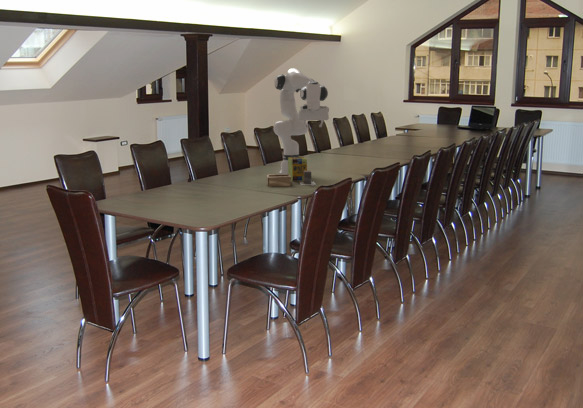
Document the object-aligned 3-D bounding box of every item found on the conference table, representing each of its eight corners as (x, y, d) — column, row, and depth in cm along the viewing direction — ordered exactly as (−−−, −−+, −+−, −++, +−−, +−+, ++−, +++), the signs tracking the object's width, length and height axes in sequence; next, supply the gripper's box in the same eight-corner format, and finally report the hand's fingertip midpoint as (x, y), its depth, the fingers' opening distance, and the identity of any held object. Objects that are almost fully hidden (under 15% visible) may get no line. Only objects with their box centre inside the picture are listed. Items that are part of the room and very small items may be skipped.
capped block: (303, 182, 433) (303, 170, 431) (310, 182, 433) (310, 170, 431) (304, 184, 426) (304, 172, 425) (311, 183, 427) (311, 171, 425)
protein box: (292, 182, 440) (292, 159, 436) (288, 178, 454) (287, 156, 451) (307, 181, 442) (307, 158, 438) (302, 178, 456) (302, 156, 453)
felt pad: (299, 183, 435) (299, 181, 435) (314, 182, 436) (314, 181, 436) (300, 186, 424) (300, 184, 423) (316, 185, 424) (316, 184, 424)
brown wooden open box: (267, 183, 434) (267, 174, 432) (289, 183, 435) (289, 173, 433) (267, 186, 422) (267, 177, 421) (291, 186, 423) (291, 176, 422)
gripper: (328, 105, 432) (328, 126, 434) (297, 106, 430) (298, 127, 433) (329, 106, 425) (329, 127, 428) (298, 106, 424) (298, 127, 427)
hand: (313, 127), depth 431 cm, fingers open, 8 cm apart
